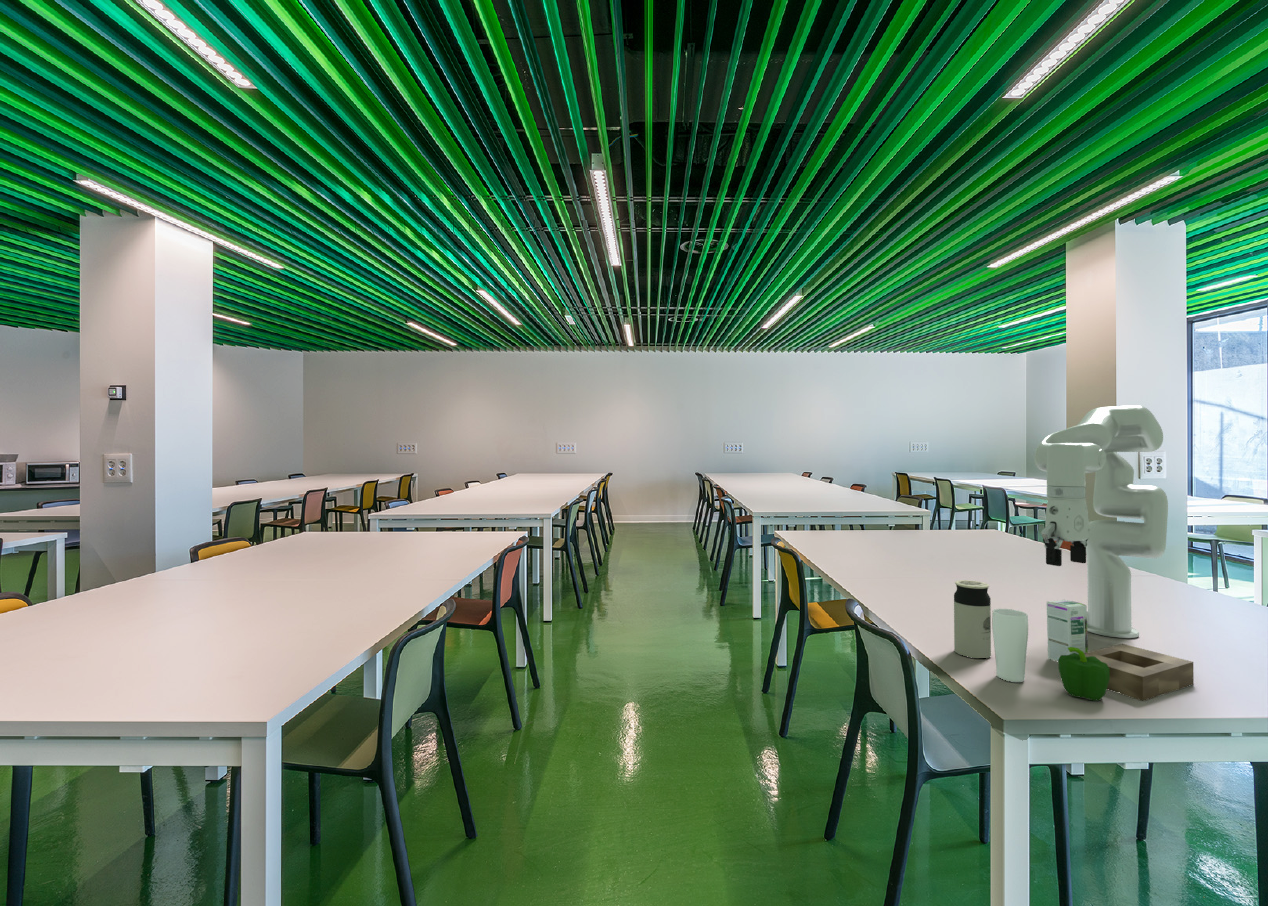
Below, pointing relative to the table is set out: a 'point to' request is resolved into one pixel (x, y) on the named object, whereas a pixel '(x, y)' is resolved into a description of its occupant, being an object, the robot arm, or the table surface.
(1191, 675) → the walnut socket block
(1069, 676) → the bell pepper
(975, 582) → the travel mug
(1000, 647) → the drinking glass
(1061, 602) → the syrup box
